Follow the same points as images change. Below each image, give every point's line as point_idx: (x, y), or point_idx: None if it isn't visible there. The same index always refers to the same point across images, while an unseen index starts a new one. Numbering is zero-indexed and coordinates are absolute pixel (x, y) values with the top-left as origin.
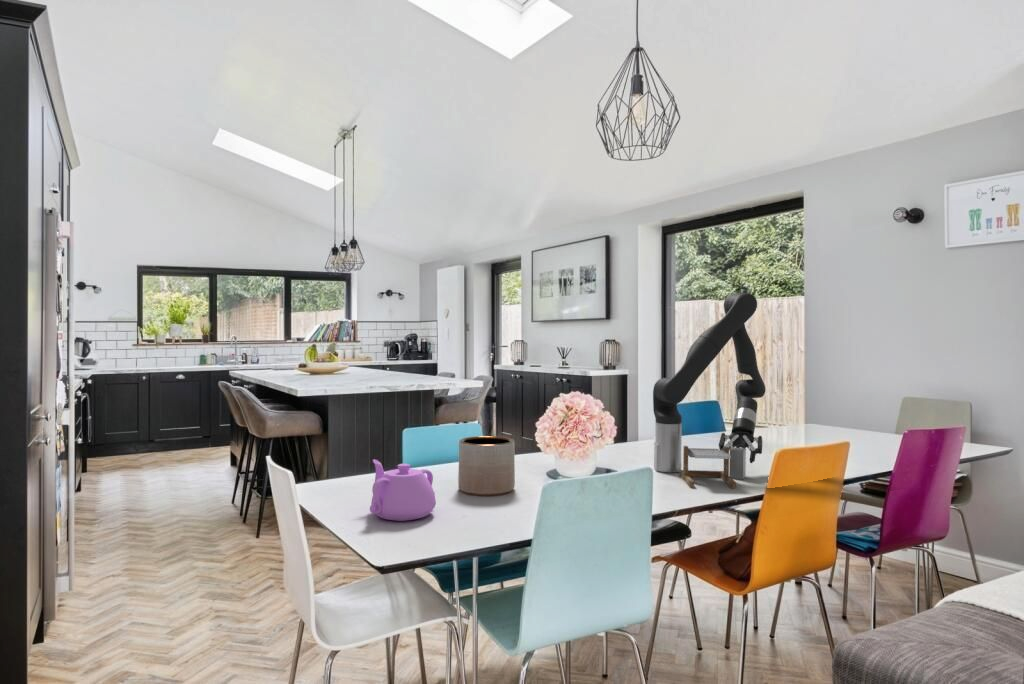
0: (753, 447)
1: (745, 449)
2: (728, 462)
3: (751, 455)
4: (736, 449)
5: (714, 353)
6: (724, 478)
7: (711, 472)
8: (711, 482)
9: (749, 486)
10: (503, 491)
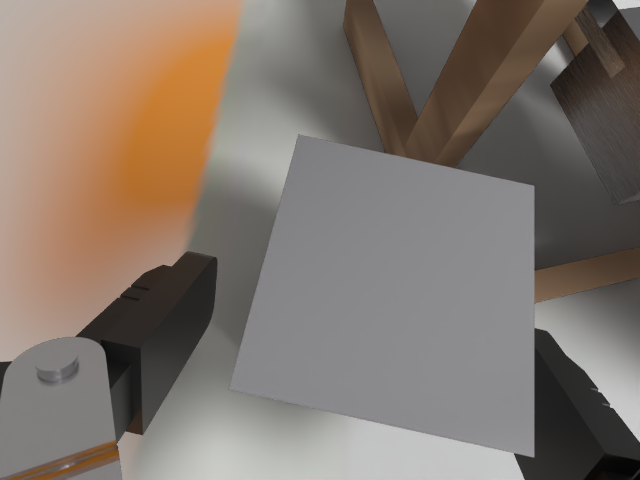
0: (21, 408)
1: (242, 351)
2: (445, 72)
3: (167, 283)
4: (419, 192)
5: None
6: None
7: (541, 269)
8: (488, 134)
9: (268, 94)
10: None
